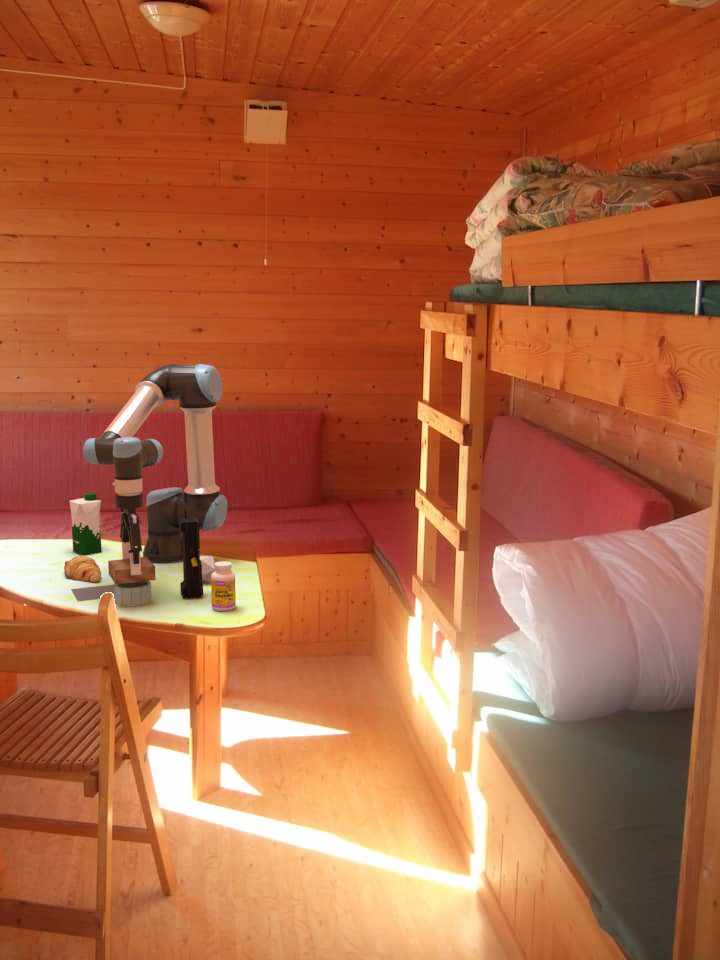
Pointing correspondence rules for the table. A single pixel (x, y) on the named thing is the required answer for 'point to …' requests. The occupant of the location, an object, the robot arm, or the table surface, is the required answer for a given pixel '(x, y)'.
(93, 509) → the milk carton
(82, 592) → the mat
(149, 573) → the cover
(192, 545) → the portable radio
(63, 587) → the table surface
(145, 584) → the bowl
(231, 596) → the supplement bottle
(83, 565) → the croissant
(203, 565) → the die
